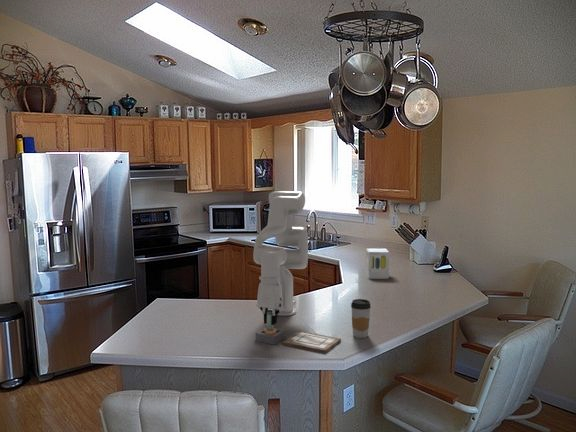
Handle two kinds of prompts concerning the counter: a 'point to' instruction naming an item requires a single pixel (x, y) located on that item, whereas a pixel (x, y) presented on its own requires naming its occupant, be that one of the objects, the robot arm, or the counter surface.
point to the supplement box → (377, 263)
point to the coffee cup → (360, 317)
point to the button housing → (270, 336)
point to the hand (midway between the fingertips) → (270, 323)
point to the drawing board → (312, 341)
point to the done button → (270, 331)
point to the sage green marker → (269, 321)
